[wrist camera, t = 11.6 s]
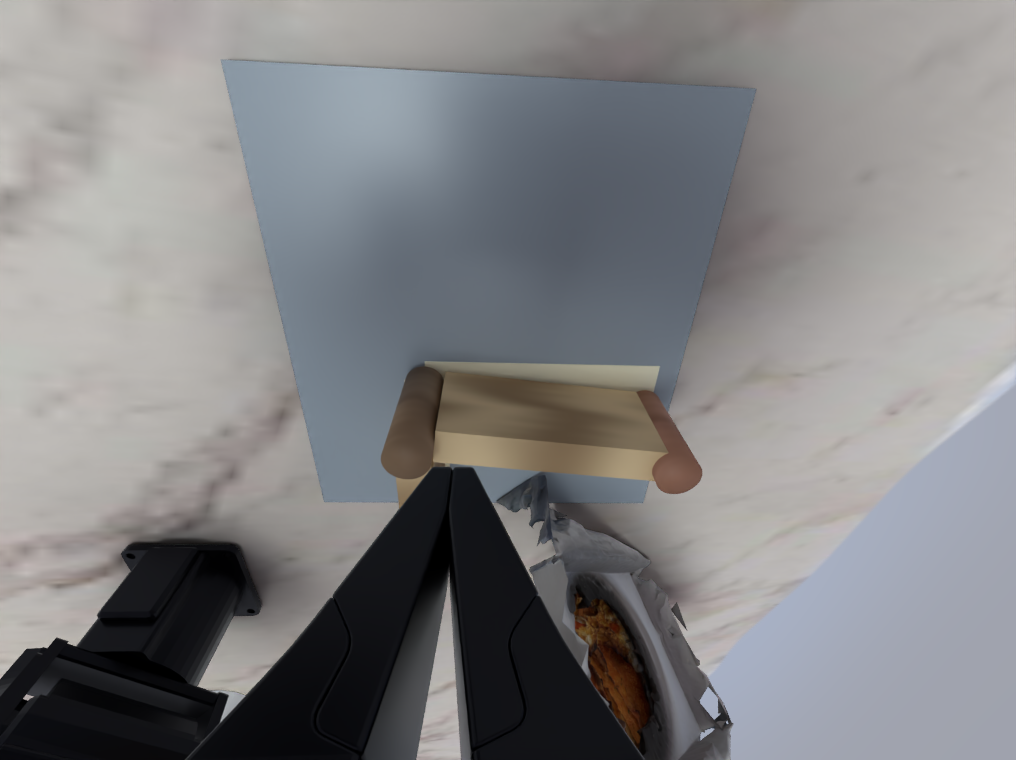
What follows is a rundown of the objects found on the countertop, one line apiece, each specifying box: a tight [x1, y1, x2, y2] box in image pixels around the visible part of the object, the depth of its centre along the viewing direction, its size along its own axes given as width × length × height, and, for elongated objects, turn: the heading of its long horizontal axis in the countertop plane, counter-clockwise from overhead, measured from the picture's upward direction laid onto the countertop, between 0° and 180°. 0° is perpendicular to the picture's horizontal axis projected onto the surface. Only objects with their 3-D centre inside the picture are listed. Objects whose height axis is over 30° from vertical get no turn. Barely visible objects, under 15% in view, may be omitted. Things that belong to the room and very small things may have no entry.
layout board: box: [221, 60, 756, 503], centre depth 20 cm, size 20×18×1 cm
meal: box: [496, 475, 733, 760], centre depth 22 cm, size 15×4×13 cm, turn 41°
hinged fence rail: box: [381, 366, 702, 494], centre depth 19 cm, size 12×2×5 cm, turn 82°
